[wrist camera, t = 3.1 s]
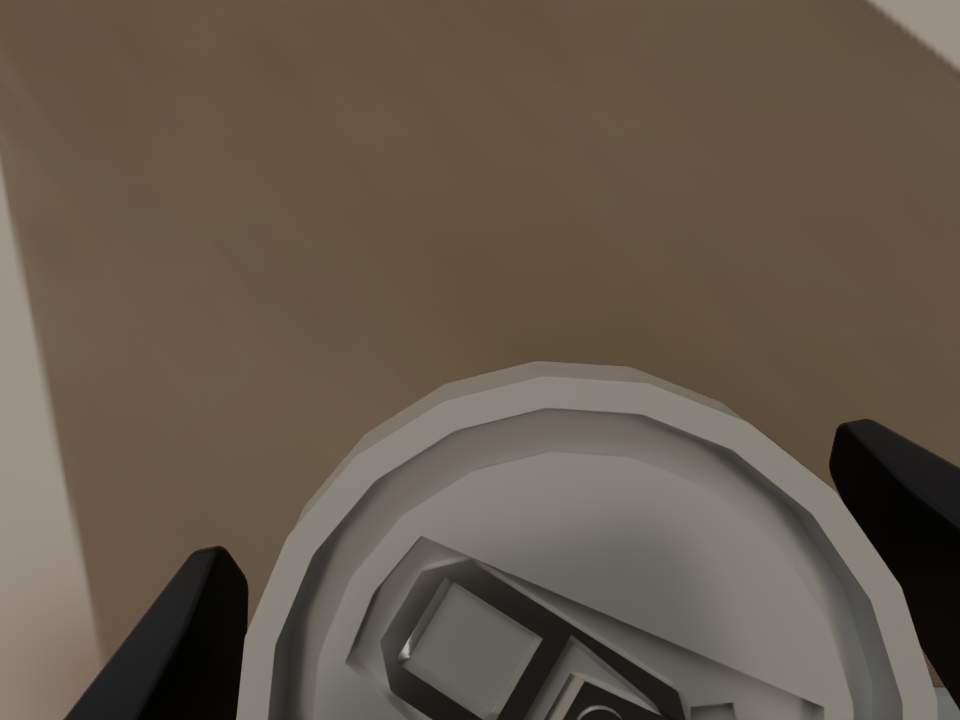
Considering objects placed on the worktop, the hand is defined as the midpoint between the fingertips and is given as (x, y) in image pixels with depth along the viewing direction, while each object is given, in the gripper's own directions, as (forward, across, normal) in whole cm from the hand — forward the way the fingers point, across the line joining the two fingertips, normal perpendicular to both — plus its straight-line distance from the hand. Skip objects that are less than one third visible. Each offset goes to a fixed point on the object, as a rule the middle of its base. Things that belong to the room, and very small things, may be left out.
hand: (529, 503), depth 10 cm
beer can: (+4, 0, +6) cm, 7 cm away
